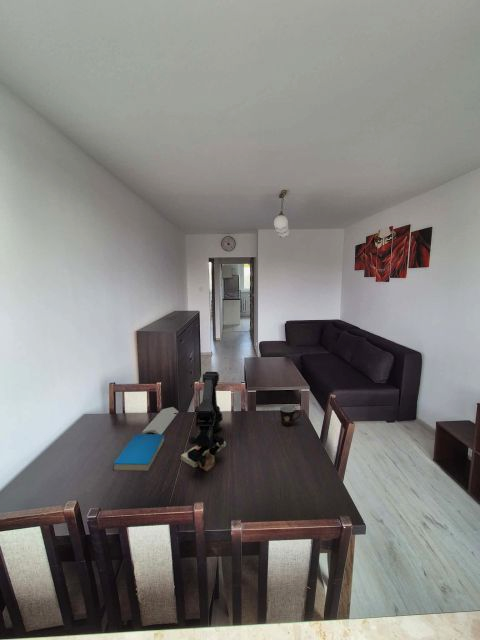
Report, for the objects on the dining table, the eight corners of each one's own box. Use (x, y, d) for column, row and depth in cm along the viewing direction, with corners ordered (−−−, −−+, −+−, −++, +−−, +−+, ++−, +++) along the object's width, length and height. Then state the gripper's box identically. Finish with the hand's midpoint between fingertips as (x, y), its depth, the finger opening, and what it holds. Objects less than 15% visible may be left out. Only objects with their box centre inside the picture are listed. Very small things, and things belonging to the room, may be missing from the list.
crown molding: (161, 411, 189) (161, 406, 189) (178, 412, 188) (178, 407, 187) (141, 434, 161) (140, 428, 160) (161, 435, 159) (161, 430, 159)
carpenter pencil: (207, 440, 149) (207, 439, 148) (209, 441, 148) (209, 440, 148) (190, 454, 137) (190, 453, 137) (191, 455, 136) (191, 454, 136)
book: (164, 434, 153) (149, 463, 129) (164, 441, 154) (149, 471, 129) (133, 434, 154) (112, 462, 129) (134, 441, 154) (113, 471, 129)
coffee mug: (277, 425, 169) (277, 409, 167) (283, 419, 176) (283, 404, 174) (295, 430, 162) (295, 414, 161) (300, 424, 169) (301, 409, 168)
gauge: (207, 461, 135) (206, 450, 134) (214, 465, 132) (214, 454, 131) (199, 466, 131) (199, 455, 130) (207, 471, 128) (206, 459, 127)
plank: (212, 439, 154) (212, 435, 153) (225, 446, 148) (225, 441, 147) (181, 459, 137) (180, 455, 136) (194, 467, 131) (194, 463, 130)
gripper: (208, 420, 141) (208, 448, 143) (179, 436, 127) (180, 467, 129) (224, 427, 134) (225, 456, 136) (195, 445, 120) (196, 478, 122)
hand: (207, 464), depth 131 cm, fingers closed on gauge, 5 cm apart
